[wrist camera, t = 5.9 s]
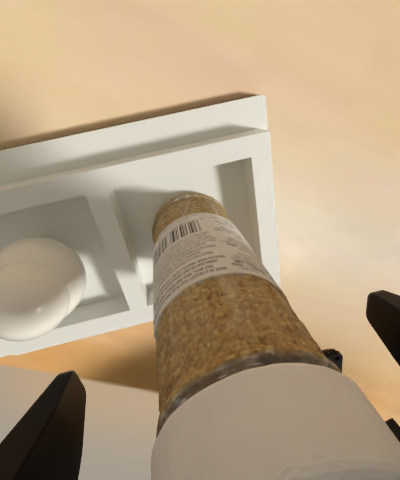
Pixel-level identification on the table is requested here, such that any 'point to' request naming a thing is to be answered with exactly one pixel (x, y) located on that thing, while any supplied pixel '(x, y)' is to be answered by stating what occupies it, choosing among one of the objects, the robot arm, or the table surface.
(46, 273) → the egg
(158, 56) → the table surface
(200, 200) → the sprinkles bottle
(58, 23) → the table surface
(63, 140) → the tray
